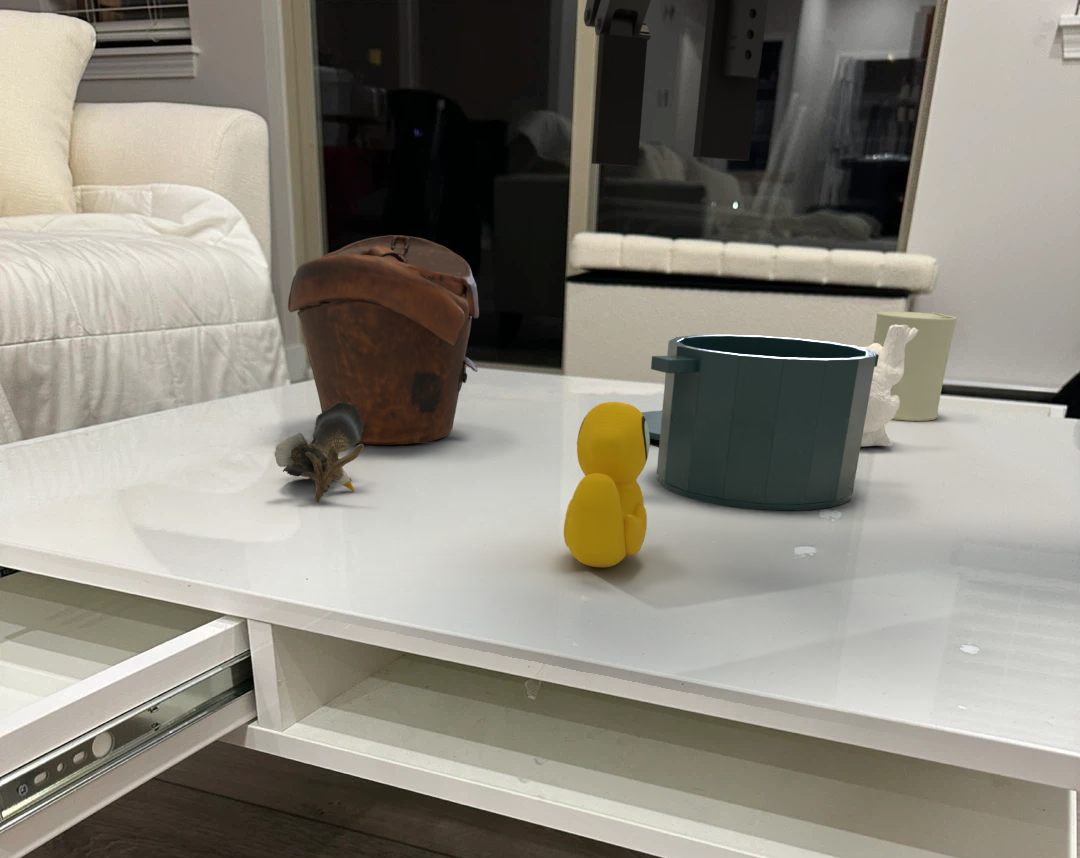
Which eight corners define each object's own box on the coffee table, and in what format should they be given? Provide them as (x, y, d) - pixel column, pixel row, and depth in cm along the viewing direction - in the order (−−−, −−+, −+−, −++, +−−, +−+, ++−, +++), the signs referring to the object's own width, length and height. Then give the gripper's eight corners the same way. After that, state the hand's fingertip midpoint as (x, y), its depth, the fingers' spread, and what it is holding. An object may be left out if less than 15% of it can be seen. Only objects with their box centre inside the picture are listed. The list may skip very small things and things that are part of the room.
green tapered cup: (935, 423, 125) (957, 316, 119) (856, 415, 127) (874, 310, 122) (938, 412, 132) (959, 311, 127) (863, 405, 135) (880, 305, 130)
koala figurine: (879, 437, 115) (900, 320, 110) (920, 450, 109) (944, 328, 104) (814, 440, 112) (832, 320, 107) (852, 453, 106) (873, 327, 101)
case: (344, 461, 93) (336, 238, 85) (268, 421, 108) (255, 229, 100) (517, 447, 102) (524, 244, 94) (424, 412, 117) (424, 235, 109)
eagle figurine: (393, 487, 80) (384, 442, 87) (338, 410, 76) (334, 369, 83) (310, 538, 81) (308, 489, 88) (252, 465, 77) (255, 420, 84)
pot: (916, 498, 90) (945, 356, 85) (709, 521, 80) (727, 362, 75) (788, 458, 103) (805, 333, 98) (595, 473, 93) (604, 336, 88)
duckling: (580, 533, 75) (589, 388, 71) (655, 541, 74) (668, 395, 70) (543, 579, 65) (551, 415, 61) (628, 590, 64) (642, 422, 60)
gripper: (541, -275, 58) (525, 163, 67) (775, -544, 37) (705, 149, 46) (665, -249, 60) (633, 170, 69) (953, -489, 39) (852, 160, 48)
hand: (662, 163), depth 57 cm, fingers open, 13 cm apart
